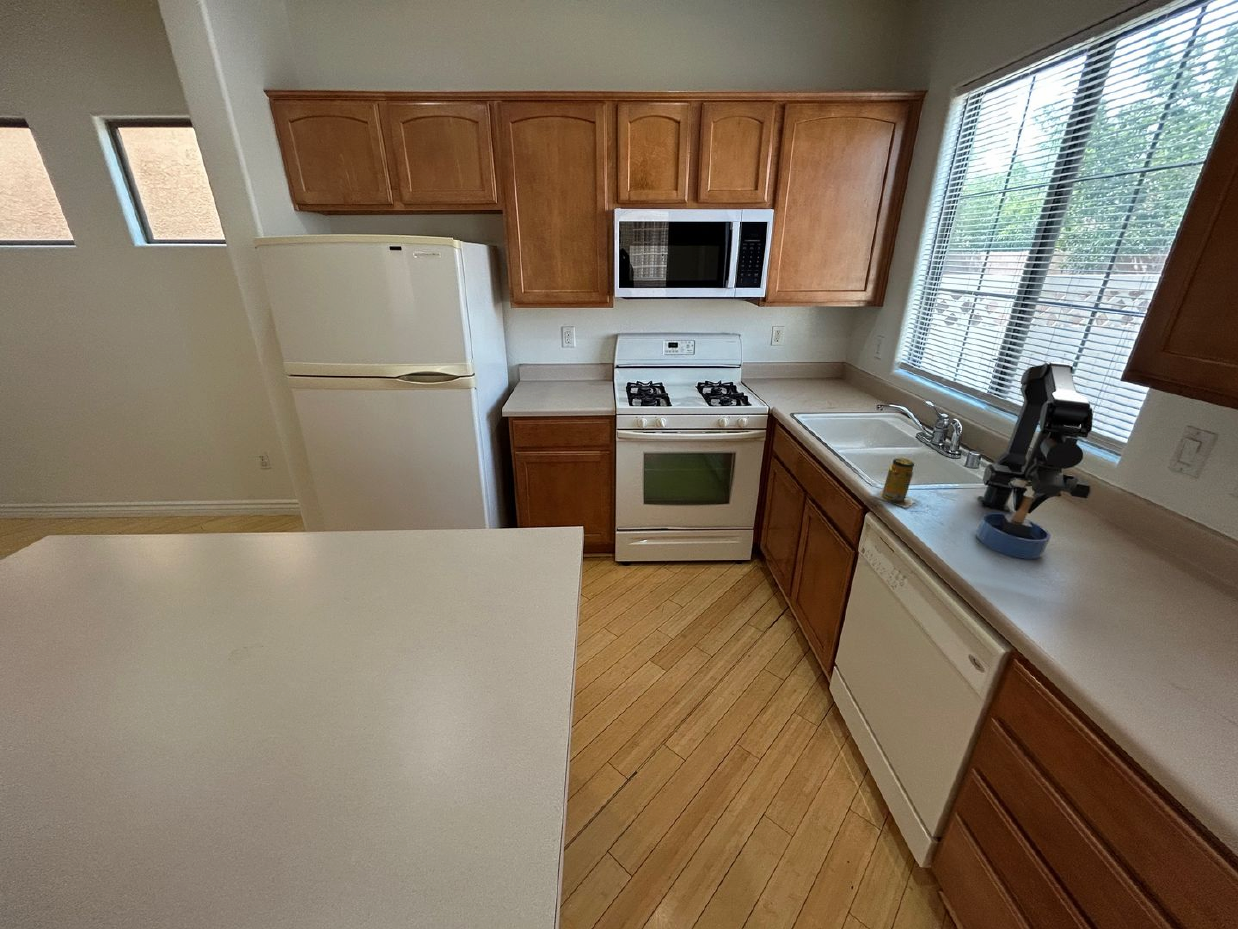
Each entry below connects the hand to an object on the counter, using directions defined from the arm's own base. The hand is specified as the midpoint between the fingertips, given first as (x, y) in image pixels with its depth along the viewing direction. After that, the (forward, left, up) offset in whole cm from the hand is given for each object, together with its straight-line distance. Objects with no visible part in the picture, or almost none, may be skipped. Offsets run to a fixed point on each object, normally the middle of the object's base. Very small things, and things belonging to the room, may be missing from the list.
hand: (1021, 511), depth 115 cm
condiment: (-14, -24, -10) cm, 29 cm away
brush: (0, 0, -6) cm, 6 cm away
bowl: (0, 0, -10) cm, 10 cm away
